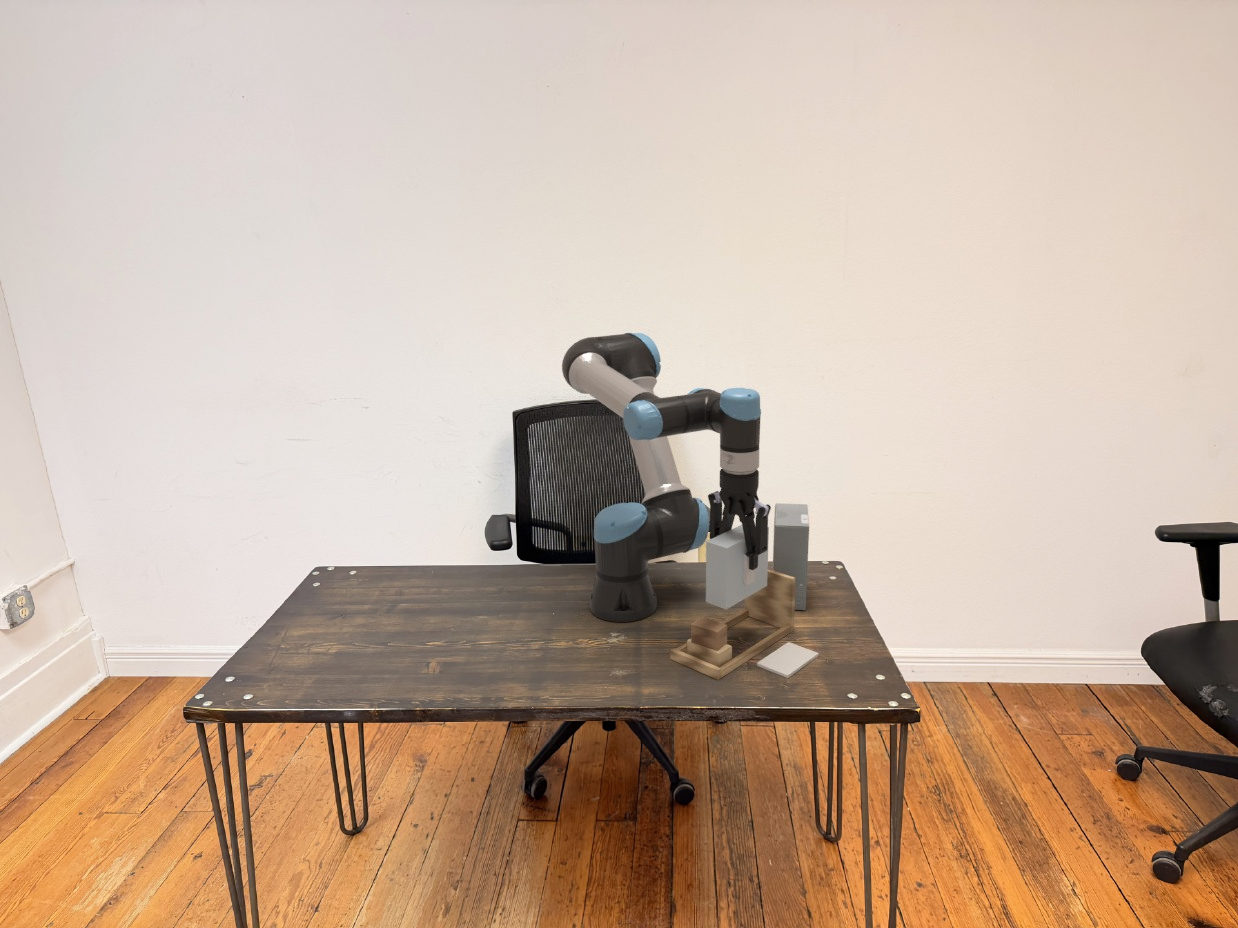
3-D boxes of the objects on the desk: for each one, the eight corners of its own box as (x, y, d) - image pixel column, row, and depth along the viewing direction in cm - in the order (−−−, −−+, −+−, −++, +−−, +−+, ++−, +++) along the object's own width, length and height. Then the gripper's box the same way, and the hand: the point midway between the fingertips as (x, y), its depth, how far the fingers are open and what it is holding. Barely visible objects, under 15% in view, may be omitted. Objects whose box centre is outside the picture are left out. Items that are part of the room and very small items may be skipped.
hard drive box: (806, 611, 180) (809, 526, 175) (771, 609, 182) (772, 525, 176) (805, 582, 195) (807, 503, 189) (772, 580, 196) (774, 502, 191)
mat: (756, 665, 159) (756, 662, 159) (788, 644, 167) (788, 641, 167) (787, 678, 154) (787, 675, 154) (818, 655, 162) (818, 653, 162)
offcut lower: (687, 658, 163) (687, 640, 162) (700, 650, 166) (700, 632, 165) (719, 672, 158) (719, 653, 157) (731, 664, 161) (731, 645, 159)
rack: (670, 658, 163) (669, 603, 160) (747, 613, 181) (747, 562, 177) (718, 679, 155) (718, 622, 151) (793, 629, 172) (795, 577, 169)
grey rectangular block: (705, 601, 163) (706, 541, 159) (747, 578, 173) (748, 521, 169) (726, 609, 160) (726, 548, 156) (767, 585, 169) (768, 527, 165)
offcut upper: (691, 642, 161) (691, 624, 160) (700, 635, 164) (700, 617, 163) (717, 650, 158) (717, 632, 157) (727, 643, 161) (727, 624, 159)
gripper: (690, 464, 162) (690, 572, 169) (767, 483, 150) (763, 598, 157) (714, 456, 167) (713, 560, 174) (790, 473, 155) (785, 585, 162)
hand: (737, 578), depth 165 cm, fingers closed on grey rectangular block, 5 cm apart
